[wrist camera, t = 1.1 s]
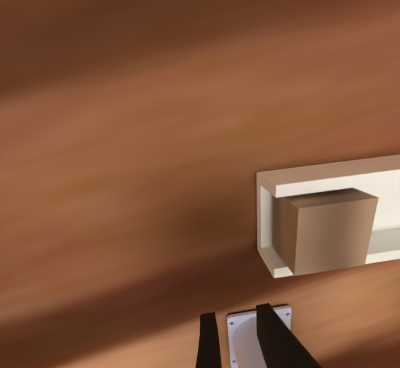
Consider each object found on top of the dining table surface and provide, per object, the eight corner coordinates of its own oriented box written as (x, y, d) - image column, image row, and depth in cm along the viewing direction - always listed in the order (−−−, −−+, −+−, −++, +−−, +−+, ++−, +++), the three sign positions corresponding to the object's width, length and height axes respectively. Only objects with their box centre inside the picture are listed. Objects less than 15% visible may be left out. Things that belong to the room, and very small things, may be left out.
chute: (257, 249, 21) (273, 278, 17) (256, 172, 18) (276, 185, 14) (443, 222, 22) (497, 243, 18) (469, 145, 19) (539, 151, 16)
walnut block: (271, 245, 19) (294, 276, 15) (273, 189, 17) (298, 208, 13) (329, 237, 19) (364, 264, 16) (336, 181, 18) (378, 197, 14)
